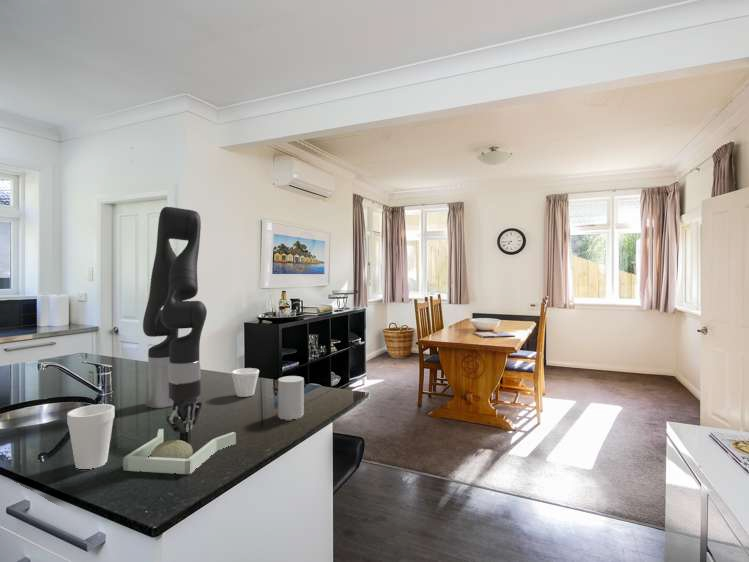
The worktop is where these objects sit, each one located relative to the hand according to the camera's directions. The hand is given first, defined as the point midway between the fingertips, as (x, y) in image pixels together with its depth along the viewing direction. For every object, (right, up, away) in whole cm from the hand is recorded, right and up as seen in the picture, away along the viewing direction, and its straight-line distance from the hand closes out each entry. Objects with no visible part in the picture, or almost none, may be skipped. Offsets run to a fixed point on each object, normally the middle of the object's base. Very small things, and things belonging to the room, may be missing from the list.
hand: (185, 444), depth 107 cm
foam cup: (-19, -2, -7) cm, 21 cm away
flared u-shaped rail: (0, -2, -2) cm, 3 cm away
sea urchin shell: (-1, -2, -6) cm, 6 cm away
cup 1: (0, -1, +50) cm, 50 cm away
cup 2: (+22, -2, +27) cm, 35 cm away
